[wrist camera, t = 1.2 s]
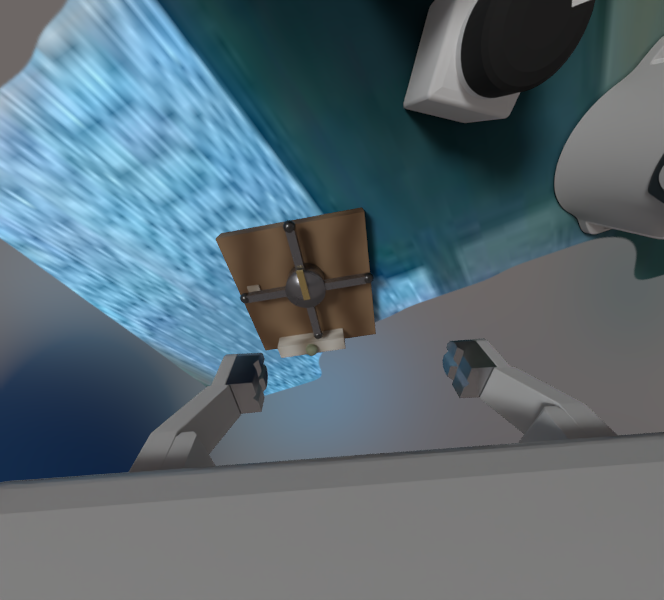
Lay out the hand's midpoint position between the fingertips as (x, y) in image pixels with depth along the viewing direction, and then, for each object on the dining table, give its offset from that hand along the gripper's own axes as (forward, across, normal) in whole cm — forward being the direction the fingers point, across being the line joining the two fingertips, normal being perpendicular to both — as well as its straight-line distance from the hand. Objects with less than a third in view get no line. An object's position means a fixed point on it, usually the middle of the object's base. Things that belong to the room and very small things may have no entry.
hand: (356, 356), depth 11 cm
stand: (+24, +4, +9) cm, 26 cm away
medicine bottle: (+23, -12, -13) cm, 29 cm away
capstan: (+22, +4, +7) cm, 23 cm away
